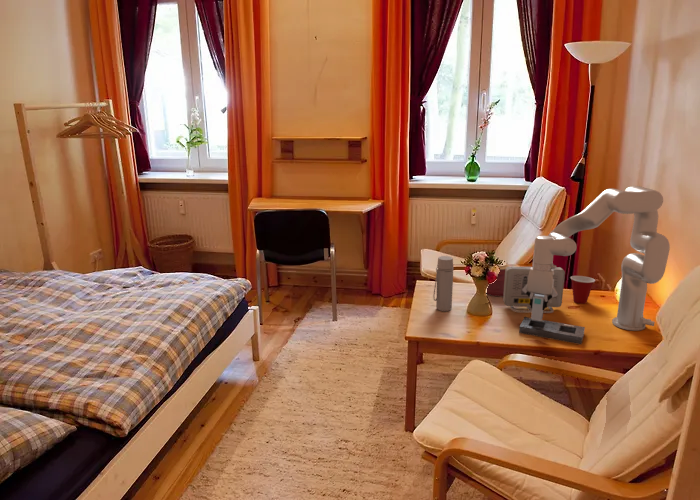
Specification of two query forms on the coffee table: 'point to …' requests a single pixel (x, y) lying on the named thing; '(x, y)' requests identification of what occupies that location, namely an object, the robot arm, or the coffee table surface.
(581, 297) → the plastic cup
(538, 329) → the panel
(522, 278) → the network device
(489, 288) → the canister
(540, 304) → the plug
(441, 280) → the water bottle
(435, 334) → the coffee table surface
